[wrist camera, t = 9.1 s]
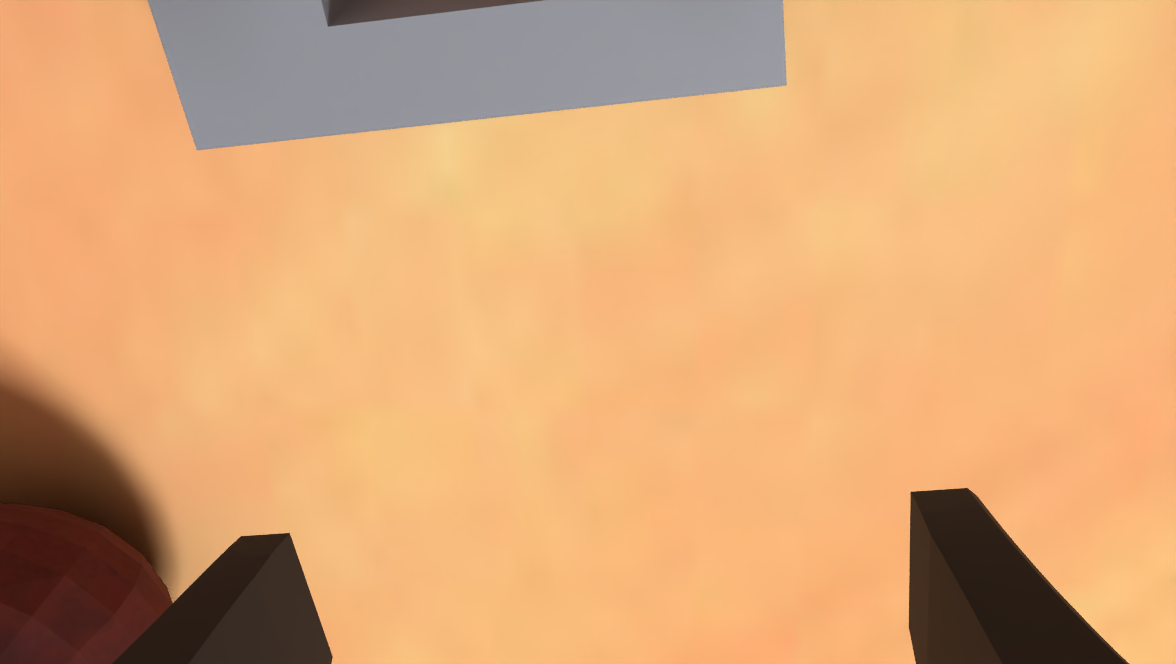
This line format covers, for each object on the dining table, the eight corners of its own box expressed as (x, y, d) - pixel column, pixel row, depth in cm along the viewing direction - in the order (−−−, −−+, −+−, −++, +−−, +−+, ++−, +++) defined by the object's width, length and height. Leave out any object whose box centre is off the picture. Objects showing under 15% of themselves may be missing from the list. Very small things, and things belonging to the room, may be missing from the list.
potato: (-14, 373, 25) (-190, 555, 20) (285, 575, 28) (198, 783, 22) (-152, 546, 28) (-337, 744, 23) (129, 714, 30) (21, 926, 25)
